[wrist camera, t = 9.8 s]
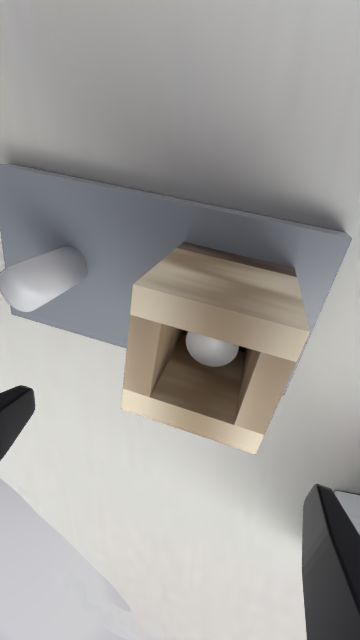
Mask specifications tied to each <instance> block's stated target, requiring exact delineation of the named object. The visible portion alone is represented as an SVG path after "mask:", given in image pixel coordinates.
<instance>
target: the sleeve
mask: <svg viewBox="0 0 360 640" xmlns="http://www.w3.org/2000/svg"><path fill="white" fill-rule="evenodd" d="M188 331H189V332H193V333H196V334H200V335H203V336H207V337H210V338H214V339H217V340H221V341H224V342H228V343H231V344H235V345H238V346H239V349H238V353H237V355H236V357H235V358H234V359H233V360H232V361H231V362H230V363H228V364H226V365H224V366H220V367H211V366H206V365H203V364H201V363H199V362H198V361H196V360H195V359H194V358H193V357H192V356H191V355H190V353H189V351H188V349H187V346H186V336H187V333H188ZM309 333H310V330H309V326H308V322H307V317H306V313H305V309H304V305H303V301H302V296H301V292H300V288H299V284H298V279H297V275H296V271H295V268H292V267H287V266H283V265H279V264H275V263H271V262H267V261H262V260H258V259H254V258H250V257H246V256H241V255H237V254H233V253H229V252H225V251H220V250H216V249H212V248H208V247H204V246H200V245H195V244H191V243H187V242H183V243H182V244H181V245H179V246H178V247H177V248H176V249H175V250H173V251H172V252H171V253H170V254H169V255H167V256H166V257H165V258H164V259H163V260H161V261H160V262H159V263H158V264H157V265H156V266H154V267H153V268H152V269H151V270H150V271H148V272H147V273H146V274H145V275H144V276H142V277H141V278H140V279H139V280H138V281H136V282H135V283H134V284H133V289H132V300H131V310H130V321H129V331H128V342H127V352H126V362H125V373H124V383H123V394H122V404H121V409H123V410H126V411H129V412H132V413H135V414H137V415H140V416H143V417H146V418H149V419H152V420H155V421H158V422H161V423H164V424H167V425H170V426H173V427H176V428H179V429H182V430H184V431H187V432H190V433H193V434H196V435H199V436H202V437H205V438H208V439H211V440H214V441H217V442H220V443H223V444H226V445H228V446H231V447H234V448H237V449H240V450H243V451H246V452H249V453H252V454H255V455H256V452H257V450H258V448H259V446H260V443H261V441H262V439H263V437H264V434H265V432H266V430H267V428H268V425H269V423H270V421H271V419H272V416H273V414H274V412H275V410H276V407H277V405H278V403H279V401H280V398H281V396H282V394H283V392H284V389H285V387H286V385H287V382H288V380H289V378H290V376H291V373H292V371H293V369H294V367H295V364H296V362H297V360H298V358H299V355H300V353H301V351H302V349H303V346H304V344H305V342H306V340H307V337H308V335H309Z"/></svg>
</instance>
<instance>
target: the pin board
mask: <svg viewBox="0 0 360 640" xmlns="http://www.w3.org/2000/svg"><path fill="white" fill-rule="evenodd" d="M0 231H1V239H2V246H3V254H4V261H5V269H4V270H2V272H1V273H0V291H1V293H2V295H3V297H4V298H5V300H6V301H7V302H8V303H9V304H10V306H11V314H13V315H16V316H19V317H23V318H26V319H30V320H33V321H36V322H40V323H43V324H46V325H50V326H53V327H56V328H60V329H63V330H67V331H70V332H73V333H77V334H80V335H83V336H87V337H90V338H94V339H97V340H100V341H104V342H107V343H110V344H114V345H117V346H120V347H124V348H127V342H128V331H129V321H130V310H131V300H132V289H133V284H134V283H135V282H136V281H138V280H139V279H140V278H141V277H142V276H144V275H145V274H146V273H147V272H148V271H150V270H151V269H152V268H153V267H154V266H156V265H157V264H158V263H159V262H160V261H161V260H163V259H164V258H165V257H166V256H167V255H169V254H170V253H171V252H172V251H173V250H175V249H176V248H177V247H178V246H179V245H181V244H182V243H183V242H187V243H191V244H195V245H200V246H204V247H208V248H212V249H216V250H220V251H225V252H229V253H233V254H237V255H241V256H246V257H250V258H254V259H258V260H262V261H267V262H271V263H275V264H279V265H283V266H287V267H292V268H295V271H296V275H297V279H298V284H299V288H300V292H301V296H302V301H303V305H304V309H305V313H306V317H307V322H308V326H309V330H310V333H309V335H308V337H307V340H306V342H305V344H304V346H303V349H302V351H301V353H300V355H299V358H298V360H297V362H296V364H295V367H294V369H293V371H292V373H291V376H290V378H289V380H288V382H287V385H286V387H285V389H284V392H283V394H282V395H284V394H285V392H286V390H287V387H288V385H289V383H290V381H291V378H292V376H293V374H294V371H295V369H296V367H297V364H298V362H299V360H300V357H301V355H302V353H303V351H304V348H305V346H306V344H307V341H308V339H309V337H310V334H311V332H312V330H313V328H314V325H315V323H316V321H317V318H318V316H319V314H320V311H321V309H322V307H323V304H324V302H325V300H326V298H327V295H328V293H329V291H330V288H331V286H332V284H333V281H334V279H335V277H336V275H337V272H338V270H339V268H340V265H341V263H342V261H343V258H344V256H345V254H346V251H347V249H348V247H349V245H350V242H351V240H352V238H351V237H350V236H349V235H348V234H347V233H346V232H341V231H336V230H331V229H326V228H322V227H317V226H312V225H307V224H302V223H297V222H292V221H287V220H283V219H278V218H273V217H268V216H263V215H258V214H253V213H248V212H243V211H239V210H234V209H229V208H224V207H219V206H214V205H209V204H204V203H200V202H195V201H190V200H185V199H180V198H175V197H170V196H165V195H160V194H156V193H151V192H146V191H141V190H136V189H131V188H126V187H121V186H117V185H112V184H107V183H102V182H97V181H92V180H87V179H82V178H77V177H73V176H68V175H63V174H58V173H53V172H48V171H43V170H38V169H34V168H29V167H24V166H19V165H14V164H0ZM186 346H187V349H188V351H189V353H190V355H191V356H192V357H193V358H194V359H195V360H196V361H198V362H199V363H201V364H203V365H206V366H211V367H220V366H224V365H226V364H228V363H230V362H231V361H232V360H233V359H234V358H235V357H236V355H237V353H238V349H239V346H238V345H235V344H231V343H228V342H224V341H221V340H217V339H214V338H210V337H207V336H203V335H200V334H196V333H193V332H189V331H188V333H187V336H186Z"/></svg>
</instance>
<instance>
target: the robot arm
mask: <svg viewBox="0 0 360 640" xmlns="http://www.w3.org/2000/svg"><path fill="white" fill-rule="evenodd" d="M34 410H35V398H34V391H33V389H32V388H29V387H26V386H22V385H20V386H17V387H14V388H12V389H9V390H7V391H4V392H2V393H0V461H1V459H2V458H3V457H4V455H5V454H6V453H7V451H8V450H9V449H10V447H11V446H12V444H13V443H14V441H15V440H16V438H17V437H18V435H19V434H20V432H21V431H22V429H23V428H24V426H25V425H26V423H27V422H28V420H29V419H30V418H31V416H32V415H33V413H34ZM302 580H303V593H304V606H305V619H306V632H307V640H360V534H359V533H358V531H357V529H356V528H355V526H354V525H353V523H352V521H351V520H350V518H349V516H348V515H347V513H346V511H345V510H344V508H343V507H342V505H341V503H340V502H339V500H338V498H337V497H336V495H335V493H334V492H333V491H332V489H330V488H328V487H325V486H323V485H320V484H315V485H314V486H313V488H312V489H311V491H310V493H309V494H308V496H307V498H306V499H305V502H304V506H303V538H302Z"/></svg>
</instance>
